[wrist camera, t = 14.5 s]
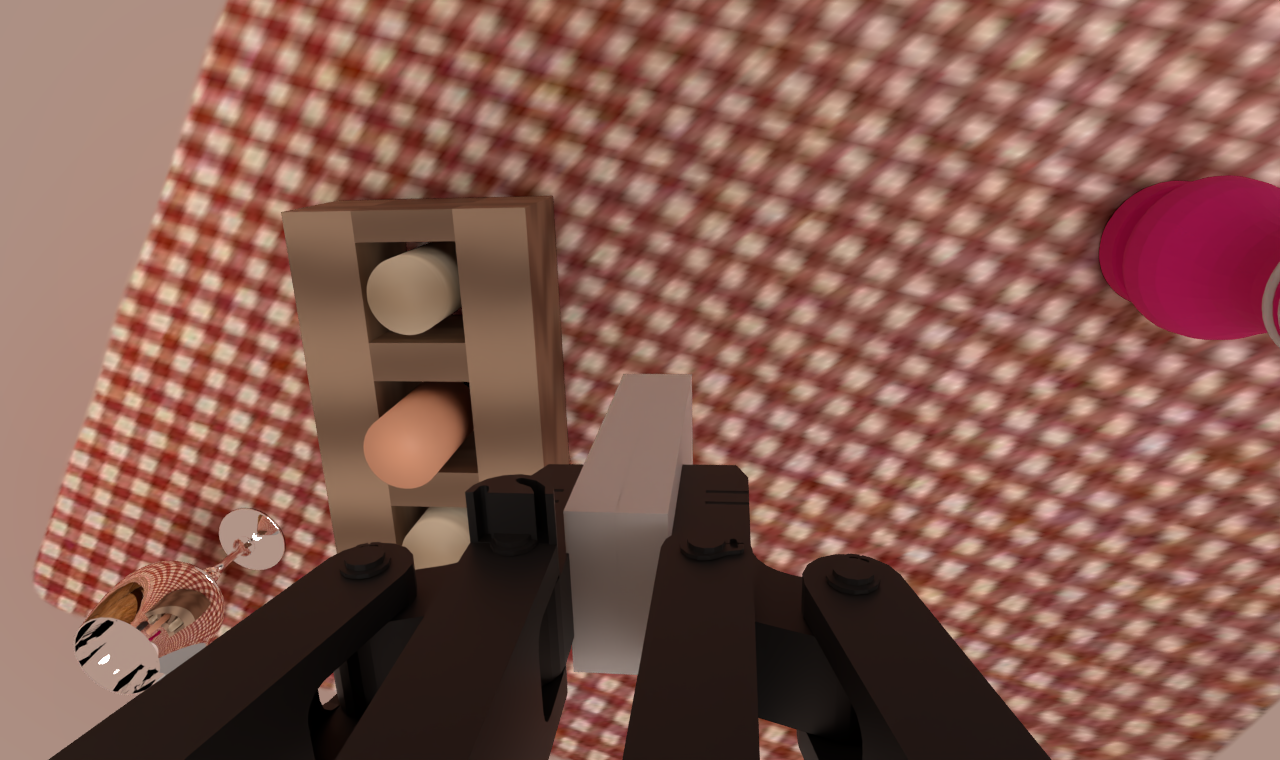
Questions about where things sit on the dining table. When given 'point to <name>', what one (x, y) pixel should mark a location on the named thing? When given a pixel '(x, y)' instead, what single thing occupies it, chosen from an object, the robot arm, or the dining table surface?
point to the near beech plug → (416, 288)
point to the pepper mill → (1199, 256)
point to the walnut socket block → (429, 347)
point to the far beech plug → (438, 537)
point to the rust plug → (419, 434)
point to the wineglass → (169, 609)
